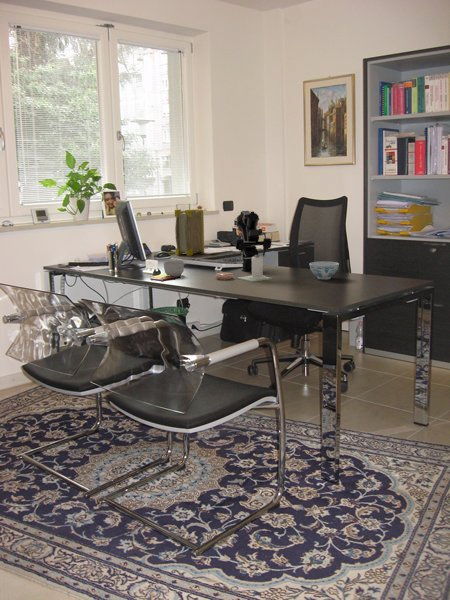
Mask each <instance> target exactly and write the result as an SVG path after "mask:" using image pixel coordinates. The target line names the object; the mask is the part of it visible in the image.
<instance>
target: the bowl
mask: <svg viewBox="0 0 450 600" xmlns="http://www.w3.org/2000/svg"><path fill="white" fill-rule="evenodd" d="M215 278H217V280H222V281H225V280H231V279H233V278H234V273H233V272H216V274H215Z"/></svg>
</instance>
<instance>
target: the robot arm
mask: <svg viewBox="0 0 450 600" xmlns="http://www.w3.org/2000/svg"><path fill="white" fill-rule="evenodd" d="M259 217H260V216H259V215H258V214H257V213H256V212H255V211H249V210H242V211H240V213H239V215H237V217H236V227H237V229H238V231H240V232H241V235H242V238H239V239H236V240H235V250H237V251H240V253H241V256H240V257H241V261H243V262H242V269H241V272H248V273H249V272H252V257H255V255H259V250H258V248H257V246H262V257H265V256H266V255H265V254H266V251H268V250H269V249H270V248H272V242H273V241H272V239H271V238H270V237H269V238H268V237H267V238H263V240H261V241H259V240H260V236H263V229H262V228H258V224H259V221H260V218H259Z"/></svg>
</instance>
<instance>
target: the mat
mask: <svg viewBox="0 0 450 600" xmlns="http://www.w3.org/2000/svg"><path fill="white" fill-rule="evenodd" d="M249 276H250V275H247V276H239V277H237V279H238V280H242V281H246V282H251V283H252V282H261V281H267V280H268V281H269V280H273V277H269V276H266V278H265V279H249Z"/></svg>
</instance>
